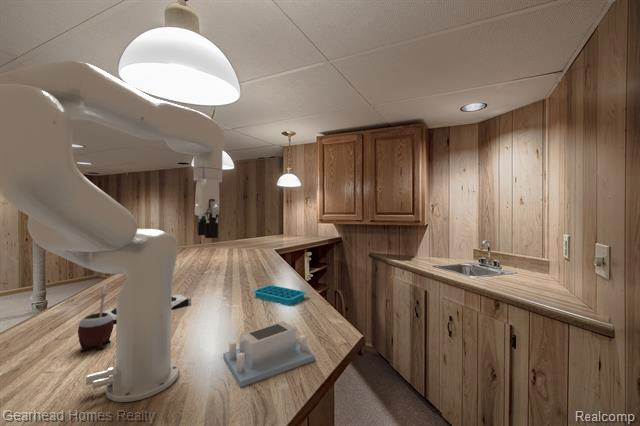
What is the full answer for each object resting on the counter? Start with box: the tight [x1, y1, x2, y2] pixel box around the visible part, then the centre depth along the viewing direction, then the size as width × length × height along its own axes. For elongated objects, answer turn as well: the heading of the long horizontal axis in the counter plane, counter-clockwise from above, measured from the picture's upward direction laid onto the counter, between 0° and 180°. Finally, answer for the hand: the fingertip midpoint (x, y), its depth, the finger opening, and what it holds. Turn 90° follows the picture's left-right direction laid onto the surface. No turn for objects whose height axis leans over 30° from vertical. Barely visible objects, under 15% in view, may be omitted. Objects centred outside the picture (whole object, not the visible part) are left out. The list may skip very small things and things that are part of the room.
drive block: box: [239, 320, 297, 369], centre depth 65 cm, size 12×6×6 cm, turn 132°
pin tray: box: [222, 325, 316, 388], centre depth 65 cm, size 18×13×5 cm
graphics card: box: [103, 293, 192, 325], centre depth 95 cm, size 10×3×25 cm
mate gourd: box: [77, 283, 114, 354], centre depth 70 cm, size 8×8×15 cm
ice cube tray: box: [252, 284, 307, 306], centre depth 111 cm, size 12×20×3 cm, turn 59°
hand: (207, 236), depth 76 cm, fingers open, 9 cm apart
